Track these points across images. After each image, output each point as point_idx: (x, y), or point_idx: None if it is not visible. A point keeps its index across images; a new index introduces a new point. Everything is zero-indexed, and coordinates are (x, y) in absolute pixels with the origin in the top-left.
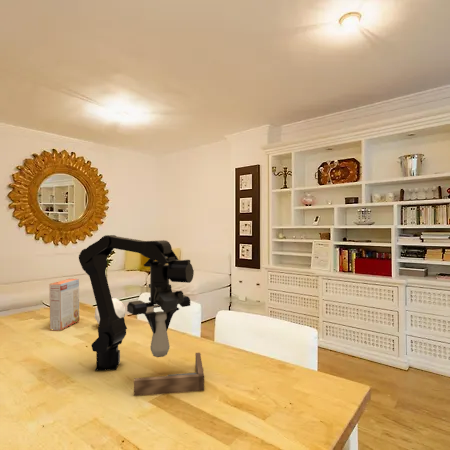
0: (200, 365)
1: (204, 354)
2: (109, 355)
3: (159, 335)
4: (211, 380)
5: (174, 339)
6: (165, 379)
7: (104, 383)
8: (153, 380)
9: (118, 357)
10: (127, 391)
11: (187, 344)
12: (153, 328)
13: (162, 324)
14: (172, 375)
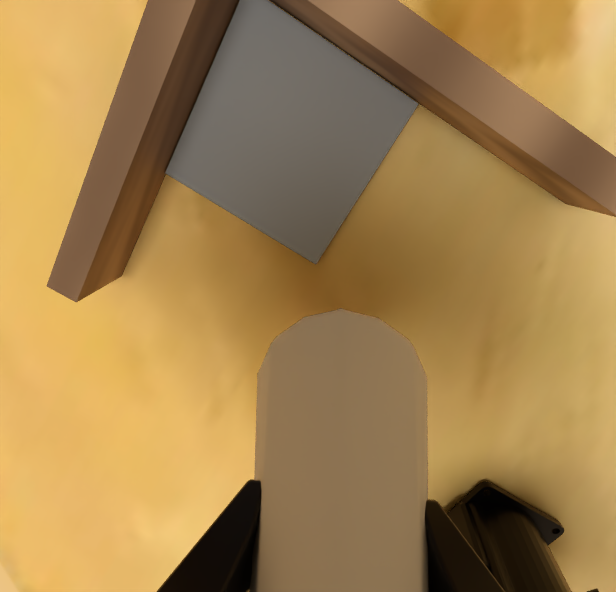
0: (134, 84)
1: (22, 353)
2: (533, 567)
3: (389, 435)
4: (126, 27)
5: (92, 574)
6: (467, 53)
7: (604, 396)
8: (539, 104)
9: (472, 539)
10: (579, 246)
11: (57, 498)
12: (478, 565)
13: (338, 572)
14: (298, 236)
